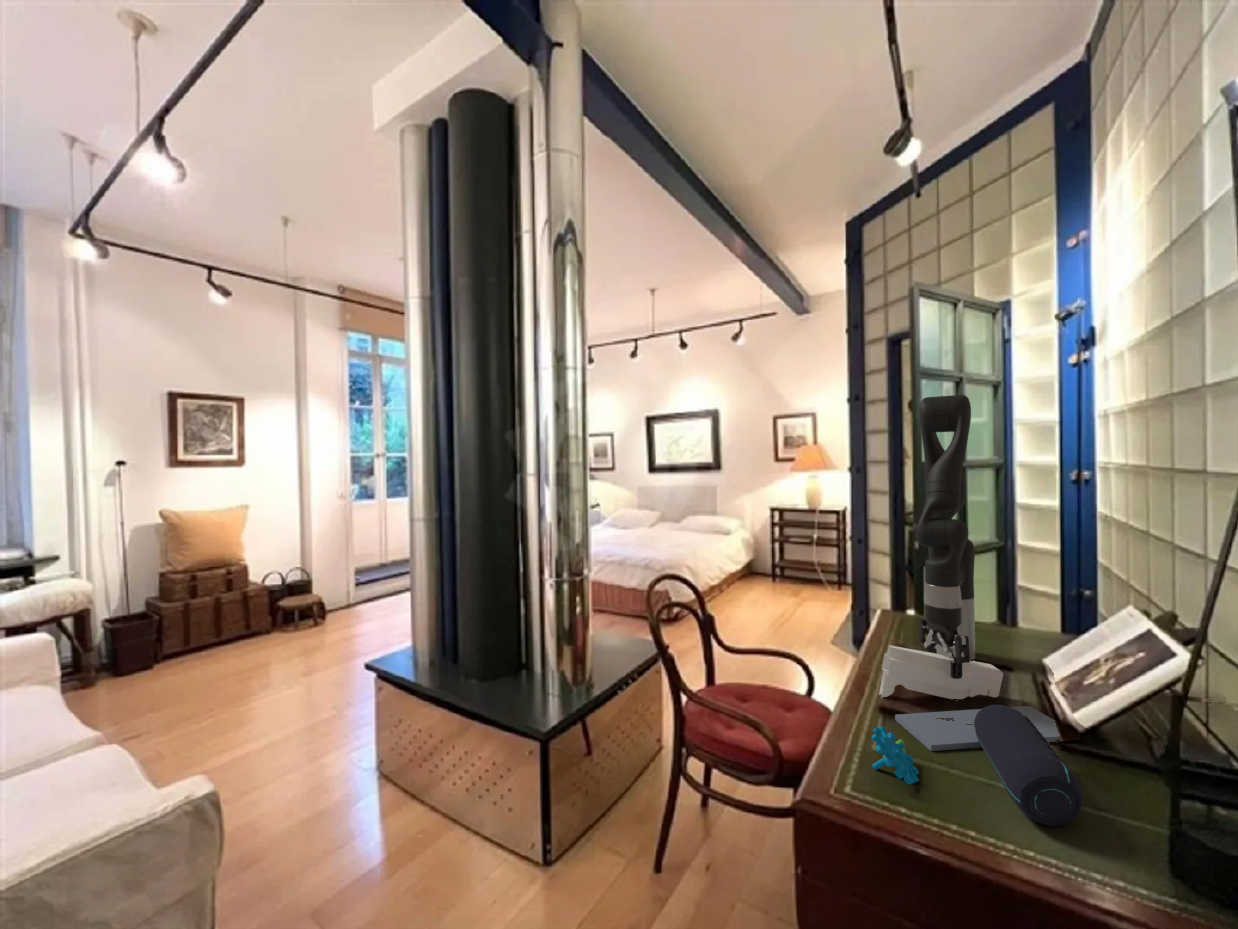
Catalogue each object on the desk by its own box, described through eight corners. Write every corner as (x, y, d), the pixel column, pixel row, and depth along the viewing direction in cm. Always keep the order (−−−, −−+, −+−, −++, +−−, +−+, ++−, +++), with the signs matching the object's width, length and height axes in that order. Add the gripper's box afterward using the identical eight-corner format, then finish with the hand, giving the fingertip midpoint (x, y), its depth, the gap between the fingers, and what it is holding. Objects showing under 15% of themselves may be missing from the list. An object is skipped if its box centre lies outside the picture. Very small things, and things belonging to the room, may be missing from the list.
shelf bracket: (875, 691, 129) (885, 642, 128) (981, 714, 126) (992, 663, 126) (884, 702, 123) (894, 650, 122) (995, 725, 121) (1006, 673, 120)
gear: (914, 789, 89) (871, 733, 94) (887, 805, 91) (846, 748, 97) (928, 768, 97) (888, 717, 102) (903, 783, 100) (864, 732, 105)
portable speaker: (1095, 844, 78) (1095, 778, 78) (1015, 829, 82) (1014, 766, 81) (1029, 752, 102) (1029, 701, 101) (969, 743, 105) (968, 694, 105)
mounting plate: (895, 720, 115) (895, 714, 115) (1029, 711, 117) (1029, 706, 117) (931, 751, 103) (931, 745, 103) (1080, 740, 105) (1080, 735, 105)
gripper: (980, 610, 117) (981, 682, 117) (937, 594, 131) (938, 658, 132) (948, 612, 117) (949, 684, 117) (908, 595, 131) (909, 660, 131)
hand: (943, 670), depth 124 cm, fingers open, 8 cm apart
